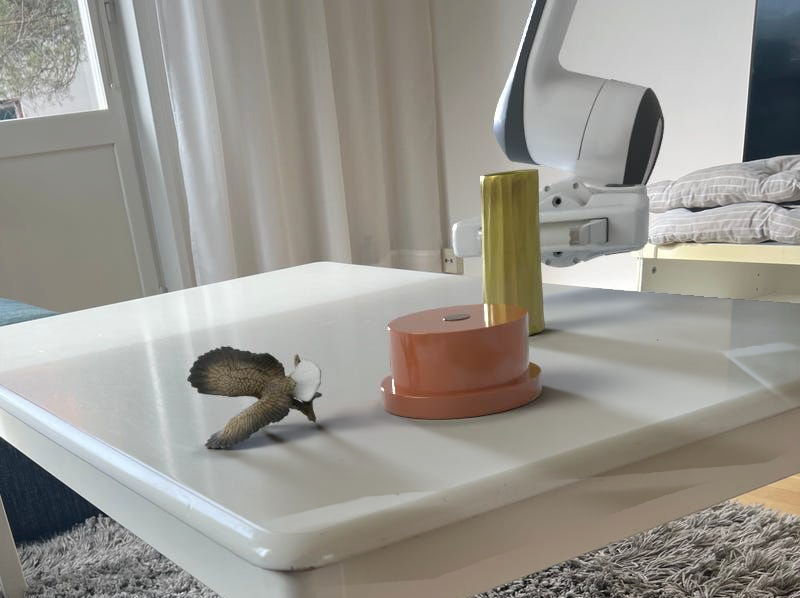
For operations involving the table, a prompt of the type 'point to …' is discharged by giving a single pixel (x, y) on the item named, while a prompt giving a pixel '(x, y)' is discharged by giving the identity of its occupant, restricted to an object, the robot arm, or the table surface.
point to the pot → (460, 362)
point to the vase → (512, 243)
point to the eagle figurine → (255, 389)
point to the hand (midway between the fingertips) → (529, 241)
